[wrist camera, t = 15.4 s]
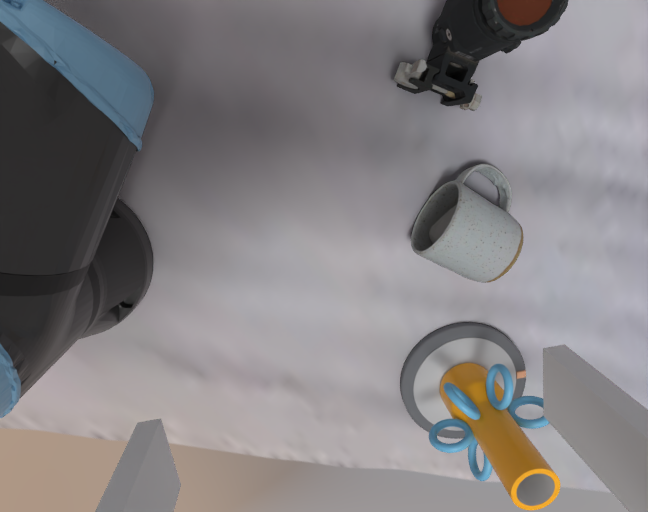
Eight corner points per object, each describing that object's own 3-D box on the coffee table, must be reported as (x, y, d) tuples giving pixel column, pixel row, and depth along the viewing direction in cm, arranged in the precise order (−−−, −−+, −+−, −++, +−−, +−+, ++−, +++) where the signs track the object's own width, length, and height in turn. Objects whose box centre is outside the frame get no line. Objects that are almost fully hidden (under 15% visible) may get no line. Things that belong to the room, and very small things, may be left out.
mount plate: (408, 441, 53) (411, 450, 52) (392, 335, 49) (395, 341, 48) (523, 419, 54) (529, 426, 52) (517, 311, 50) (523, 316, 48)
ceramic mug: (468, 274, 48) (501, 300, 41) (402, 242, 47) (424, 262, 39) (521, 185, 46) (566, 194, 39) (454, 147, 45) (487, 150, 37)
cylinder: (393, 388, 50) (435, 496, 35) (459, 320, 48) (532, 403, 34) (469, 445, 52) (537, 566, 38) (534, 382, 51) (631, 484, 36)
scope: (431, 63, 29) (498, -109, 27) (387, 83, 42) (429, -30, 40) (541, 109, 30) (614, -51, 28) (464, 115, 44) (510, 7, 41)
